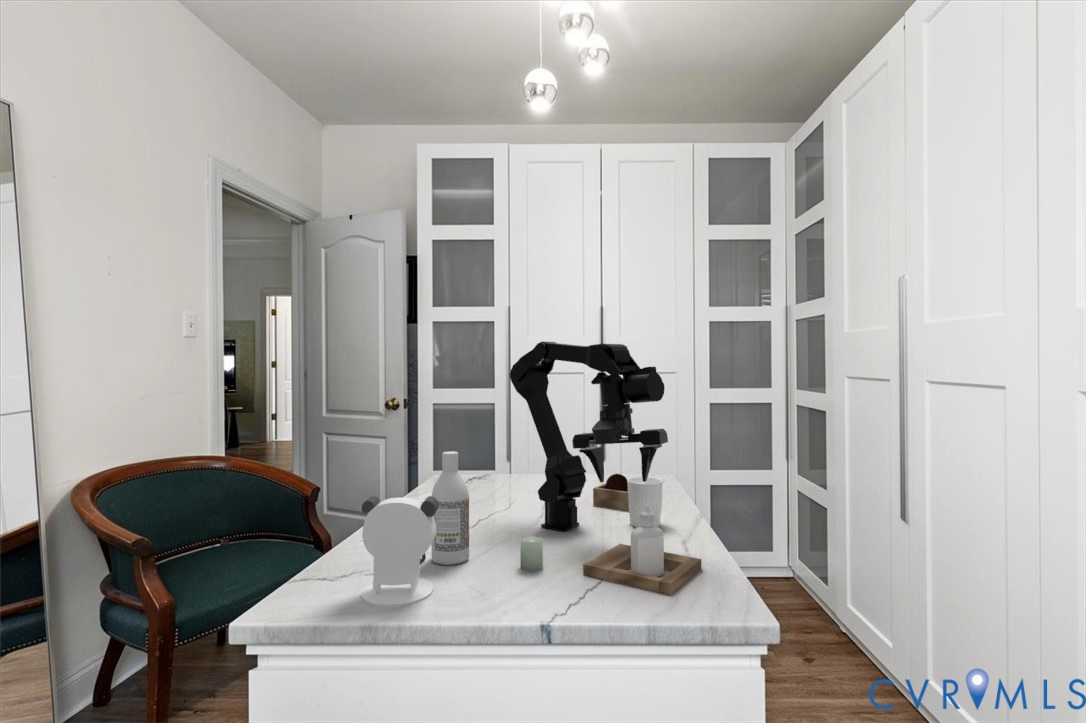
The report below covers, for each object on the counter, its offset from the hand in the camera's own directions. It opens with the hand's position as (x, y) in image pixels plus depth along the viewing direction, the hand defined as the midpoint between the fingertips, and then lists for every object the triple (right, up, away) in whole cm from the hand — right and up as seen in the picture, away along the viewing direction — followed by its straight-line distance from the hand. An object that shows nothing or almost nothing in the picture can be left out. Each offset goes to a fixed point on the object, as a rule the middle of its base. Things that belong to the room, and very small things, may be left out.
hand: (623, 481), depth 121 cm
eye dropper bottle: (+2, -13, -18) cm, 22 cm away
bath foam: (-33, -13, -10) cm, 37 cm away
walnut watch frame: (+4, -12, +33) cm, 35 cm away
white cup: (+7, -13, +14) cm, 20 cm away
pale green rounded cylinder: (-18, -13, -14) cm, 26 cm away
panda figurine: (-39, -13, -25) cm, 48 cm away
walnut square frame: (+1, -13, -16) cm, 21 cm away
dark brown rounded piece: (+5, -13, +33) cm, 35 cm away
